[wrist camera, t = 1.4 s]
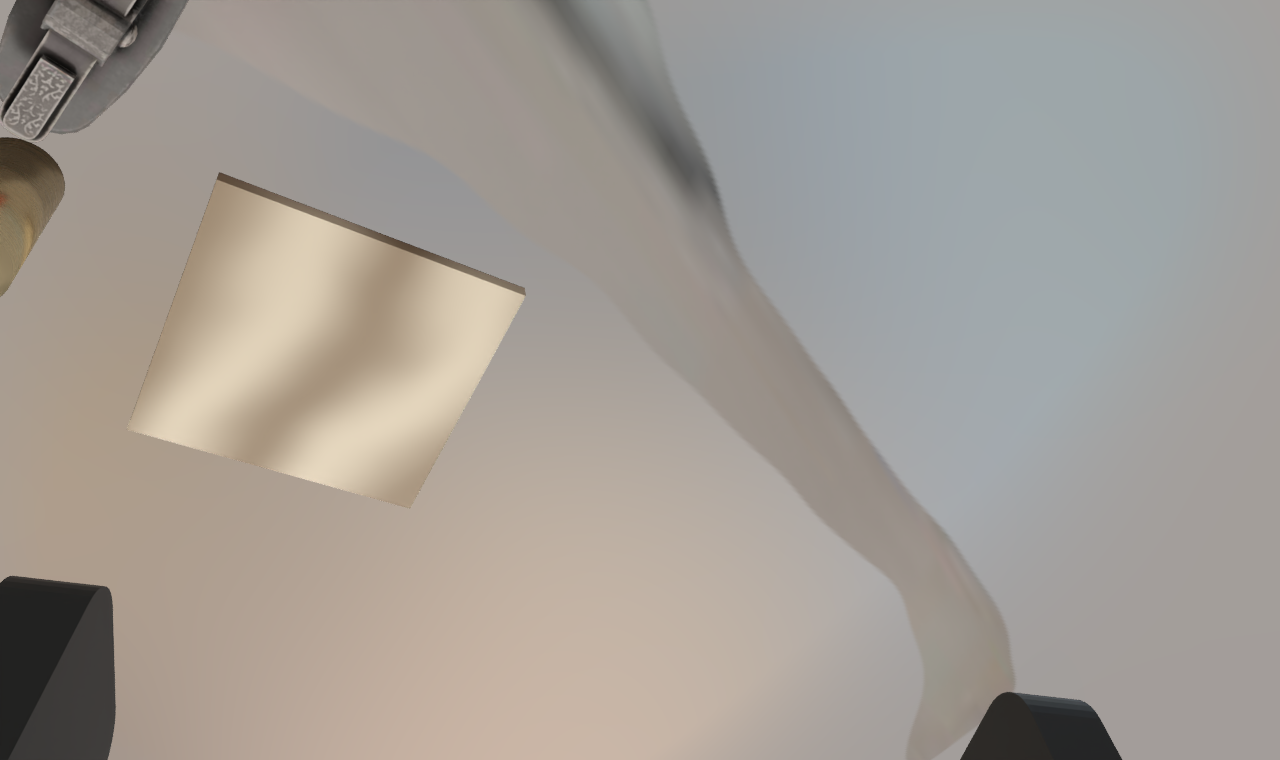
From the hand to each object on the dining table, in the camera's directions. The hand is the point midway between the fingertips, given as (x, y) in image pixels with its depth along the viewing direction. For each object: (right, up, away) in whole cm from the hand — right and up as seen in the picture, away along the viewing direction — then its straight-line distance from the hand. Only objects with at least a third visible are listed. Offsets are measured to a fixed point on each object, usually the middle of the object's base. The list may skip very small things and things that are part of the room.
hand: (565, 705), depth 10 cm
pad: (-12, +4, +34) cm, 36 cm away
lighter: (-14, +17, +24) cm, 33 cm away
